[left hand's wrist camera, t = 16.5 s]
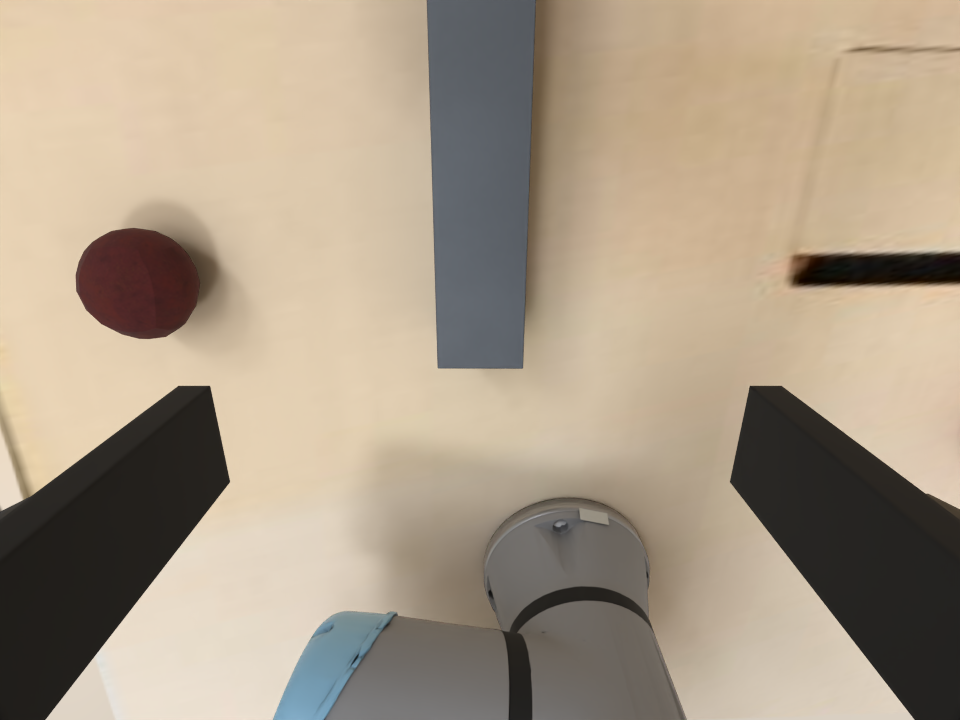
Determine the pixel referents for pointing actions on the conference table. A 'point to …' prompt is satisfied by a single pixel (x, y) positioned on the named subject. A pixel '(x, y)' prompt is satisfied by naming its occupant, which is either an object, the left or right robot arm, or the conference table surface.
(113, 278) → the dark red ball
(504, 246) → the bar
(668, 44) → the conference table surface
